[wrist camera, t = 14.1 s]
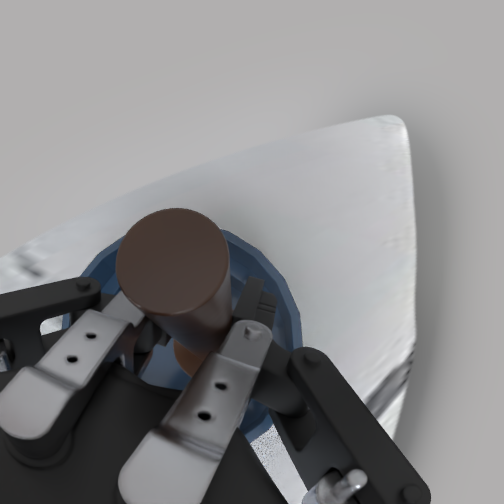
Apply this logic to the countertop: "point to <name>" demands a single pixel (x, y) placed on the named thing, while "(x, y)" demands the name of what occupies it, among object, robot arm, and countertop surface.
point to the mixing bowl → (241, 267)
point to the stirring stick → (179, 280)
